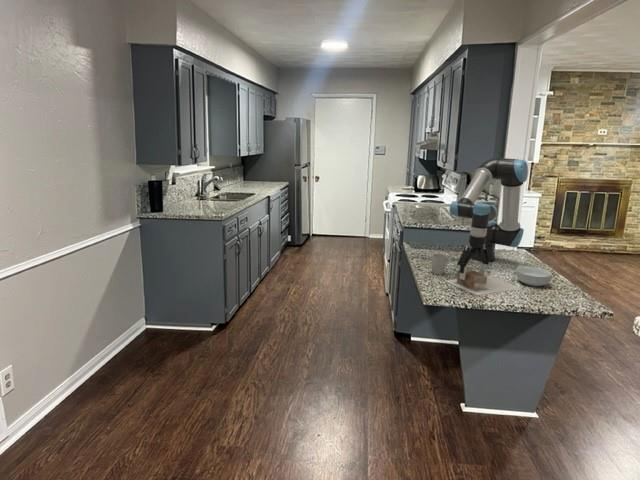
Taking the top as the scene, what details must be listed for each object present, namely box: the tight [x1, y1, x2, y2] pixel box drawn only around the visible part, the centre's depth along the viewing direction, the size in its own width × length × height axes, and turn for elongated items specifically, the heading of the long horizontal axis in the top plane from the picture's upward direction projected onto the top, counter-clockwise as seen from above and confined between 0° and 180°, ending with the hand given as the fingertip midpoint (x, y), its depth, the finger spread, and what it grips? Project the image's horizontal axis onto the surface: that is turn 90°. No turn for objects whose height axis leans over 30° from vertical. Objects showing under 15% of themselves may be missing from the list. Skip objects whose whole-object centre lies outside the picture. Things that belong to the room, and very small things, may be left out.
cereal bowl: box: [515, 266, 553, 287], centre depth 230 cm, size 17×17×7 cm
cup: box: [431, 253, 449, 276], centre depth 238 cm, size 8×8×10 cm
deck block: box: [456, 268, 487, 291], centre depth 221 cm, size 12×7×6 cm, turn 29°
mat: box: [443, 273, 520, 297], centre depth 225 cm, size 30×22×1 cm
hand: (471, 277), depth 220 cm, fingers open, 13 cm apart
